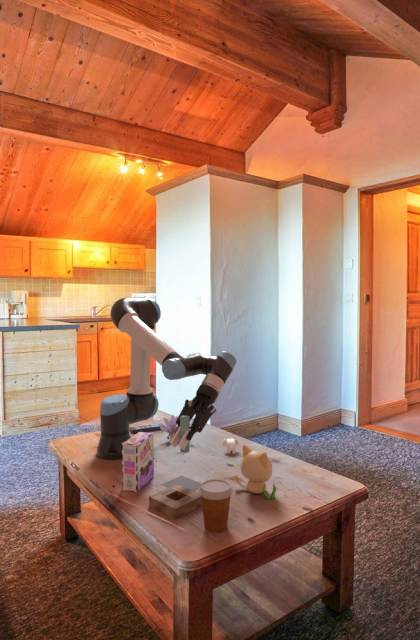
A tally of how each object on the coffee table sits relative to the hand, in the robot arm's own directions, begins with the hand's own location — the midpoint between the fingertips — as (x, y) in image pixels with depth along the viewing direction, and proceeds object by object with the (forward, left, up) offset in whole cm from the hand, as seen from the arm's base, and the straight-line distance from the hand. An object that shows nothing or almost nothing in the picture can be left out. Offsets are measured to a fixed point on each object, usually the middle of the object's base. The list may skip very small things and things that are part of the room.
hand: (176, 446), depth 148 cm
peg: (0, +4, -3) cm, 5 cm away
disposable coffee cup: (+25, -9, -15) cm, 31 cm away
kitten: (+21, +17, -15) cm, 31 cm away
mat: (-1, +4, -15) cm, 16 cm away
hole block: (+8, -8, -15) cm, 19 cm away
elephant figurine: (-9, +40, -15) cm, 44 cm away
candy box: (-14, -5, -15) cm, 21 cm away
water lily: (-38, +35, -15) cm, 54 cm away
